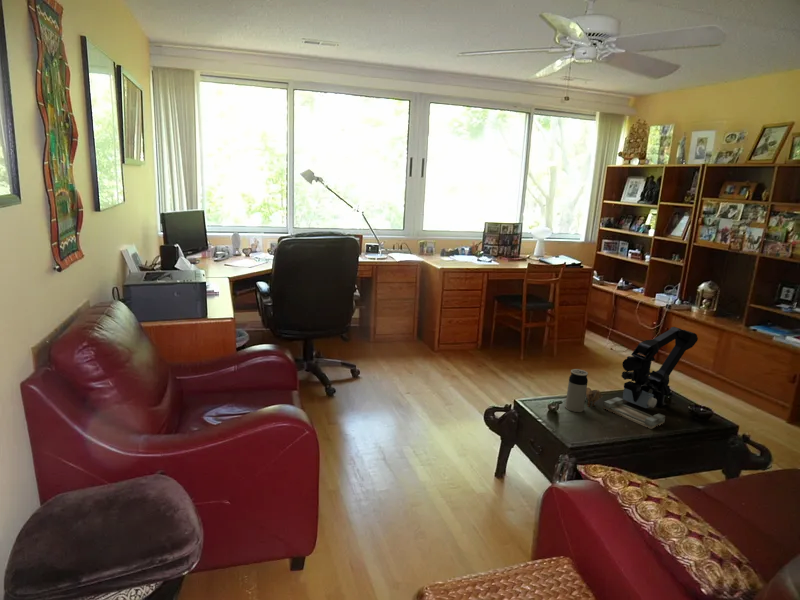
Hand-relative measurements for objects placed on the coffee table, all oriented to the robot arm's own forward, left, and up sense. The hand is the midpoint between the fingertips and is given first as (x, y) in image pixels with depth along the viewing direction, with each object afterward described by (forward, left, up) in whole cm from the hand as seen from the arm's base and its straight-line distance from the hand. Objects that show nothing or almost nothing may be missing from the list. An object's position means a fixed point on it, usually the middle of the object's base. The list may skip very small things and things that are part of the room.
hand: (637, 400), depth 238 cm
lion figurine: (+18, -13, -3) cm, 23 cm away
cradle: (+12, +5, -3) cm, 13 cm away
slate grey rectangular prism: (0, 0, -1) cm, 1 cm away
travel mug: (+30, -13, -3) cm, 33 cm away
